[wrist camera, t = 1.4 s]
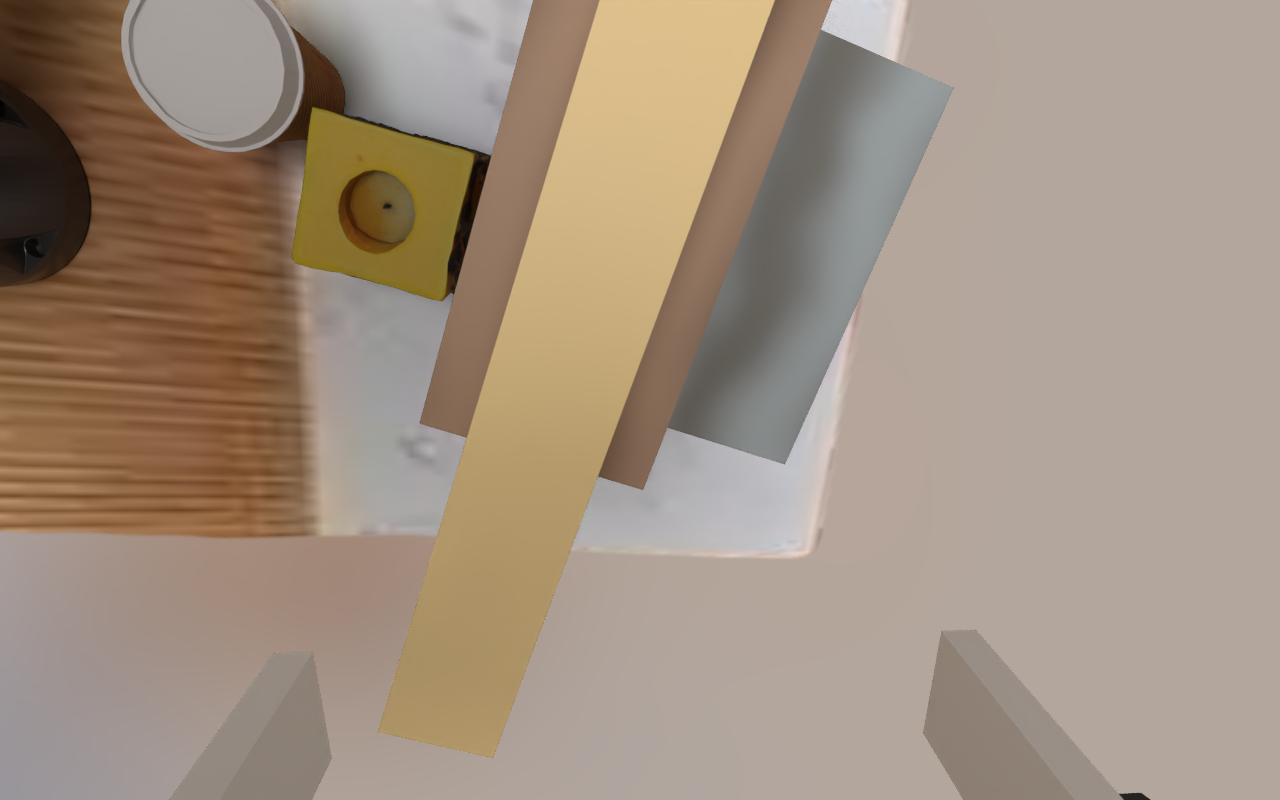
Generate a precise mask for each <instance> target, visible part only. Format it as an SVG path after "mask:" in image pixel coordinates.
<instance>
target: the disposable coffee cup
mask: <svg viewBox="0 0 1280 800" xmlns="http://www.w3.org/2000/svg"><path fill="white" fill-rule="evenodd" d="M121 45H122V53H123V59H124V62H125V65H126V68H127V71H128V74H129V77H130V79H131V81H132V82H133V84H134V86H135V88H136V90H137V92H138V93H139V95H140V96H141V97H142V99H143V100H144V102H145V103H146V104H147V105H148V106H149V107H150V108H151V110H152V111H153V112H154V113H155V114H156V115H158V116H159V118H160V119H161V120H163V121H164V122H165V123H166V124H167V125H168V126H169V127H170V128H171V129H173V130H174V131H175V132H177V133H178V134H179V135H181V136H182V137H184V138H186V139H188V140H190V141H191V142H193V143H195V144H198V145H200V146H203V147H206V148H209V149H212V150H217V151H225V152H244V151H249V150H253V149H258V148H261V147H263V146H265V145H266V144H268V143H271V142H280V141H288V140H299V139H308V132H309V124H310V118H311V112H312V107H314V108H319V109H323V110H327V111H330V112H333V113H336V114H340V115H342V114H343V110H344V105H345V92H344V87H343V84H342V81H341V78H340V76H339V74H338V72H337V70H336V69H335V67H334V66H333V65H332V63H331V62H330V61H329V60H328V59H327V58H326V57H325V56H324V55H322V54H321V53H320V52H319V51H318V50H317V49H316V48H314V47H313V46H312V45H311V44H310V43H309V42H308V41H307V40H306V39H305V38H304V37H303V36H302V35H300V34H299V33H298V32H297V31H296V30H294V29H293V28H292V27H291V26H290V25H289V23H288V22H287V20H286V18H285V16H284V15H283V14H282V13H281V12H280V11H279V9H278V8H277V7H276V6H275V5H274V3H273V2H272V1H271V0H130V2H129V5H128V7H127V9H126V11H125V14H124V18H123V24H122V30H121Z"/></svg>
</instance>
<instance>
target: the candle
mask: <svg viewBox="0 0 1280 800" xmlns="http://www.w3.org/2000/svg"><path fill="white" fill-rule="evenodd" d="M490 160H491V156H490V155H488V154H484V153H482V152H479V151H476V150H471V149H468V148H466V147H462V146H458V145H454V144H450V143H448V142H444V141H441V140H438V139H434V138H430V137H427V136H420V135H418V134H414V135H413V134H409V133H406V132H402V131H400V130H398V129H395V128H392V127H389V126H386V125H383V124H382V123H379V124H377V123H374V122H372V121H368V120H365V119H363V118H361V117H353V116H347V115H345V114H344V115H340V114H336V113H333V112H330V111H327V110H323V109H319V108H314V107H312V112H311V118H310V124H309V132H308V140H307V147H306V161H305V171H304V180H303V188H302V194H301V200H300V206H299V211H298V216H297V224H296V231H295V238H294V244H293V252H292V258H293V260H294V262H295V263H297V264H300V265H303V266H307V267H310V268H315V269H320V270H325V271H331V272H339V273H343V274H346V275H349V276H352V277H356V278H361V279H364V280H368V281H372V282H375V283H379V284H383V285H387V286H391V287H395V288H398V289H401V290H404V291H407V292H409V293H412V294H416V295H419V296H422V297H426V298H429V299H433V300H438V301H443V300H444V299H445V298H446V297H447V296H448V295H449V294H450V293H453V294H454V293H455V290H456V286H457V282H458V279H459V275H460V271H461V267H462V264H463V260H464V256H465V253H466V249H467V245H468V241H469V238H470V234H471V230H472V227H473V223H474V219H475V215H476V212H477V208H478V204H479V200H480V197H481V193H482V189H483V186H484V182H485V178H486V174H487V171H488V167H489V163H490Z"/></svg>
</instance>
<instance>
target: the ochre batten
mask: <svg viewBox="0 0 1280 800" xmlns="http://www.w3.org/2000/svg"><path fill="white" fill-rule="evenodd" d="M774 1H775V0H600V1H599V4H598V7H597V10H596V14H595V17H594V20H593V24H592V27H591V30H590V34H589V37H588V40H587V43H586V47H585V50H584V53H583V57H582V60H581V63H580V67H579V70H578V73H577V76H576V80H575V83H574V86H573V90H572V93H571V96H570V100H569V103H568V106H567V109H566V113H565V116H564V119H563V123H562V126H561V129H560V132H559V136H558V139H557V142H556V146H555V149H554V152H553V156H552V159H551V162H550V165H549V169H548V172H547V175H546V179H545V182H544V185H543V189H542V192H541V195H540V198H539V202H538V205H537V208H536V212H535V215H534V218H533V222H532V225H531V228H530V231H529V235H528V238H527V241H526V245H525V248H524V251H523V255H522V258H521V261H520V264H519V268H518V271H517V274H516V278H515V281H514V284H513V287H512V291H511V294H510V297H509V301H508V304H507V307H506V311H505V314H504V317H503V320H502V324H501V327H500V330H499V334H498V337H497V340H496V344H495V347H494V350H493V353H492V357H491V360H490V363H489V367H488V370H487V373H486V377H485V380H484V383H483V386H482V390H481V393H480V396H479V400H478V403H477V406H476V409H475V413H474V416H473V419H472V423H471V426H470V429H469V433H468V436H467V439H466V442H465V446H464V449H463V452H462V456H461V459H460V462H459V466H458V469H457V472H456V475H455V479H454V482H453V485H452V489H451V492H450V495H449V499H448V502H447V505H446V508H445V512H444V515H443V518H442V522H441V525H440V528H439V532H438V535H437V538H436V542H435V545H434V548H433V551H432V555H431V558H430V561H429V564H428V568H427V571H426V574H425V578H424V581H423V585H422V588H421V591H420V594H419V597H418V601H417V604H416V607H415V611H414V614H413V617H412V621H411V624H410V627H409V630H408V634H407V637H406V640H405V644H404V647H403V650H402V654H401V657H400V660H399V664H398V667H397V670H396V673H395V677H394V681H393V683H392V686H391V690H390V693H389V696H388V700H387V703H386V706H385V710H384V713H383V716H382V719H381V723H380V726H379V729H378V732H380V733H384V734H389V735H393V736H397V737H401V738H406V739H411V740H415V741H419V742H424V743H428V744H432V745H437V746H441V747H446V748H450V749H455V750H459V751H463V752H468V753H472V754H476V755H481V756H485V757H490V758H493V757H494V754H495V752H496V749H497V746H498V744H499V741H500V738H501V736H502V733H503V730H504V727H505V725H506V722H507V720H508V717H509V714H510V711H511V709H512V706H513V703H514V701H515V698H516V695H517V693H518V690H519V687H520V684H521V682H522V679H523V676H524V674H525V671H526V668H527V666H528V663H529V660H530V658H531V655H532V652H533V650H534V647H535V644H536V642H537V639H538V636H539V633H540V631H541V628H542V625H543V622H544V620H545V617H546V615H547V612H548V609H549V607H550V604H551V601H552V598H553V596H554V593H555V590H556V588H557V585H558V582H559V580H560V577H561V574H562V571H563V569H564V566H565V564H566V561H567V558H568V555H569V553H570V550H571V547H572V545H573V542H574V539H575V537H576V534H577V531H578V529H579V526H580V523H581V520H582V518H583V515H584V512H585V510H586V507H587V504H588V502H589V499H590V496H591V494H592V491H593V488H594V486H595V483H596V480H597V477H598V475H599V472H600V469H601V467H602V464H603V461H604V459H605V456H606V453H607V451H608V448H609V445H610V442H611V440H612V437H613V434H614V432H615V429H616V426H617V424H618V421H619V418H620V416H621V413H622V410H623V407H624V405H625V402H626V399H627V397H628V394H629V391H630V389H631V386H632V383H633V381H634V378H635V375H636V373H637V370H638V367H639V364H640V362H641V359H642V356H643V354H644V351H645V348H646V346H647V343H648V340H649V338H650V335H651V332H652V329H653V327H654V324H655V321H656V319H657V316H658V313H659V311H660V308H661V305H662V303H663V300H664V297H665V295H666V292H667V289H668V286H669V284H670V281H671V278H672V276H673V273H674V270H675V268H676V265H677V262H678V260H679V257H680V254H681V251H682V249H683V246H684V243H685V241H686V238H687V235H688V233H689V230H690V227H691V225H692V222H693V219H694V216H695V214H696V211H697V208H698V206H699V203H700V200H701V198H702V195H703V192H704V190H705V187H706V184H707V182H708V179H709V176H710V173H711V171H712V168H713V165H714V163H715V160H716V157H717V155H718V152H719V149H720V147H721V144H722V141H723V138H724V136H725V133H726V130H727V128H728V125H729V122H730V120H731V117H732V114H733V112H734V109H735V106H736V103H737V101H738V98H739V95H740V93H741V90H742V87H743V85H744V82H745V79H746V77H747V74H748V71H749V69H750V66H751V63H752V60H753V58H754V55H755V52H756V50H757V47H758V44H759V42H760V39H761V36H762V34H763V31H764V28H765V25H766V23H767V20H768V17H769V15H770V12H771V9H772V7H773V4H774Z"/></svg>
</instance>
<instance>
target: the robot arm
mask: <svg viewBox="0 0 1280 800" xmlns="http://www.w3.org/2000/svg"><path fill="white" fill-rule="evenodd" d="M89 213H90V202H89V192H88V187H87V182H86V178H85V175H84V172H83V169H82V166H81V164H80V162H79V159H78V157H77V155H76V153H75V151H74V149H73V148H72V146H71V144H70V143H69V141H68V140H67V138H66V137H65V135H64V134H63V132H62V131H61V130H60V129H59V127H58V126H57V125H56V124H55V122H54V121H53V120H52V119H51V118H50V117H49V116H48V115H47V114H46V113H45V112H44V111H43V110H42V109H41V108H40V107H39V106H38V105H36V104H35V103H34V102H33V101H31V100H30V99H29V98H27V97H26V96H25V95H23V94H22V93H20V92H19V91H17V90H16V89H14V88H12V87H10V86H9V85H7V84H5V83H3V82H1V81H0V287H5V286H12V285H19V284H26V283H30V282H35V281H38V280H41V279H43V278H46V277H48V276H50V275H52V274H54V273H55V272H57V271H59V270H60V269H61V268H63V267H64V266H65V265H66V264H67V263H68V262H69V261H70V260H71V259H72V258H73V257H74V255H75V254H76V253H77V251H78V249H79V248H80V246H81V244H82V242H83V240H84V237H85V234H86V231H87V227H88V222H89ZM923 733H924V735H925V737H926V739H927V740H928V742H929V743H930V745H931V747H932V748H933V750H934V752H935V753H936V755H937V757H938V758H939V760H940V762H941V763H942V765H943V767H944V768H945V770H946V772H947V773H948V775H949V777H950V778H951V780H952V782H953V783H954V785H955V787H956V788H957V790H958V792H959V793H960V795H961V797H962V798H963V800H1150V799H1149V798H1147V797H1146V796H1144V795H1143V794H1142V793H1128V794H1118V793H1117V792H1116V790H1114V788H1113V787H1112V786H1111V785H1110V784H1109V782H1108V781H1107V780H1106V779H1105V778H1104V777H1103V776H1102V774H1101V773H1100V772H1099V771H1098V770H1097V769H1096V767H1095V766H1094V765H1093V764H1092V763H1091V762H1090V760H1089V759H1088V758H1087V757H1086V756H1085V755H1084V754H1083V752H1081V750H1080V749H1079V748H1078V747H1077V746H1076V744H1075V743H1074V742H1073V741H1072V740H1071V739H1070V737H1069V736H1068V735H1067V734H1066V733H1065V732H1064V731H1063V729H1062V728H1061V727H1060V726H1059V725H1058V724H1057V723H1056V721H1055V720H1054V719H1053V718H1052V717H1051V716H1050V715H1049V713H1048V712H1047V711H1046V710H1045V709H1044V708H1043V706H1041V704H1040V703H1039V702H1038V701H1037V700H1036V698H1035V697H1034V696H1033V695H1032V694H1031V693H1030V691H1029V690H1028V689H1027V688H1026V687H1025V686H1024V685H1023V683H1022V682H1021V681H1020V680H1019V679H1018V678H1017V677H1016V675H1015V674H1014V673H1013V672H1012V671H1011V670H1010V669H1009V667H1008V666H1007V665H1006V664H1005V663H1004V662H1003V660H1002V659H1001V658H1000V657H999V656H998V655H997V654H996V653H995V651H994V650H993V649H992V648H991V647H990V645H989V644H988V643H987V642H986V641H985V640H984V639H983V637H982V636H981V635H980V634H979V633H978V632H977V631H976V630H957V631H941V637H940V642H939V648H938V653H937V659H936V664H935V670H934V675H933V681H932V686H931V692H930V697H929V703H928V709H927V714H926V720H925V725H924V731H923ZM331 759H332V758H331V752H330V747H329V741H328V735H327V729H326V723H325V718H324V712H323V706H322V701H321V695H320V690H319V685H318V678H317V673H316V667H315V661H314V656H313V652H292V653H274V654H273V655H272V656H271V658H270V659H269V660H268V662H267V664H266V665H265V666H264V667H263V669H262V670H261V672H260V673H259V674H258V676H257V677H256V679H255V680H254V681H253V683H252V684H251V686H250V687H249V689H248V690H247V691H246V693H245V694H244V695H243V697H242V698H241V700H240V701H239V702H238V704H237V705H236V707H235V708H234V709H233V711H232V712H231V714H230V715H229V717H228V718H227V719H226V721H225V722H224V723H223V725H222V726H221V728H220V729H219V730H218V732H217V733H216V735H215V736H214V737H213V739H212V740H211V742H210V743H209V744H208V746H207V747H206V749H205V750H204V752H203V753H202V754H201V756H200V757H199V759H198V760H197V761H196V763H195V764H194V766H193V767H192V768H191V770H190V771H189V772H188V774H187V775H186V777H185V778H184V779H183V781H182V782H181V784H180V785H179V786H178V788H177V789H176V791H175V792H174V793H173V795H172V796H171V798H170V799H169V800H312V799H313V796H314V794H315V792H316V790H317V788H318V786H319V784H320V782H321V780H322V778H323V775H324V773H325V771H326V769H327V767H328V765H329V763H330V761H331Z"/></svg>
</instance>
